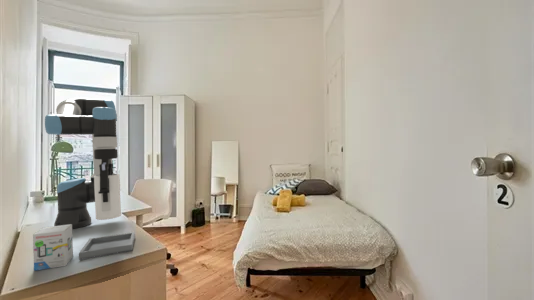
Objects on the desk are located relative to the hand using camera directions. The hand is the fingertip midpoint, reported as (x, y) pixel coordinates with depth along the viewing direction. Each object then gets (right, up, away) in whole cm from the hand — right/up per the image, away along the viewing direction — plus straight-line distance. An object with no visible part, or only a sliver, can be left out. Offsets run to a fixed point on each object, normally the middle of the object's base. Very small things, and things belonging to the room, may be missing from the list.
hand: (108, 208), depth 99 cm
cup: (0, -3, 0) cm, 3 cm away
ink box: (-10, -16, -12) cm, 23 cm away
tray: (+1, -15, 0) cm, 15 cm away
